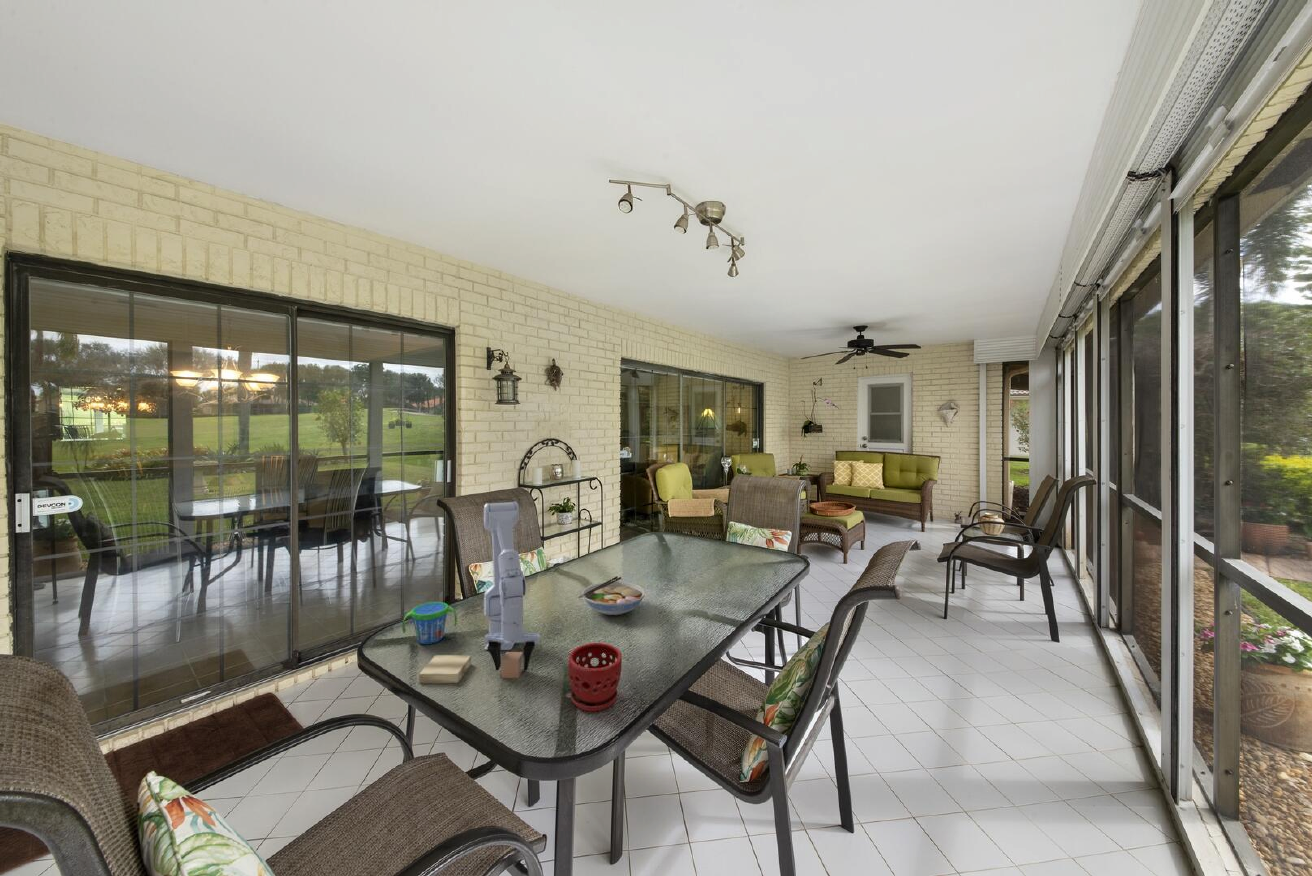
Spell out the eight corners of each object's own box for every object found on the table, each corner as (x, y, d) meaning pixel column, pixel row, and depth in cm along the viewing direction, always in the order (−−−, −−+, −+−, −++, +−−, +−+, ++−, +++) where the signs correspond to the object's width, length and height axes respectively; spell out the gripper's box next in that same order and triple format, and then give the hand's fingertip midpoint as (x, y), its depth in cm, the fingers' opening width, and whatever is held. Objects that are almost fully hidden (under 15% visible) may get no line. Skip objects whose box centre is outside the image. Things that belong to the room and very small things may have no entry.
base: (435, 663, 139) (435, 655, 139) (471, 663, 139) (471, 655, 139) (419, 683, 129) (419, 673, 129) (457, 683, 129) (457, 673, 129)
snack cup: (398, 650, 147) (398, 616, 146) (407, 634, 157) (407, 603, 157) (454, 644, 151) (454, 612, 150) (459, 630, 161) (459, 599, 160)
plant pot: (557, 705, 120) (557, 657, 120) (592, 681, 131) (592, 637, 131) (597, 724, 113) (598, 673, 113) (631, 697, 124) (632, 651, 123)
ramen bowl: (619, 631, 161) (619, 607, 161) (566, 616, 173) (566, 593, 173) (658, 607, 183) (658, 585, 182) (609, 594, 195) (609, 574, 194)
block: (506, 669, 137) (506, 651, 137) (522, 669, 137) (522, 652, 137) (501, 678, 132) (501, 659, 132) (518, 678, 132) (518, 660, 132)
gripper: (480, 625, 130) (480, 675, 130) (535, 626, 130) (535, 676, 131) (489, 615, 137) (489, 662, 137) (541, 615, 137) (541, 662, 138)
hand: (512, 668), depth 135 cm, fingers open, 7 cm apart
